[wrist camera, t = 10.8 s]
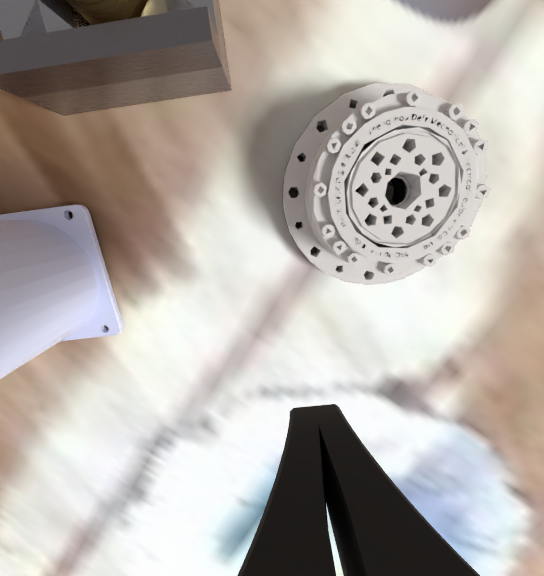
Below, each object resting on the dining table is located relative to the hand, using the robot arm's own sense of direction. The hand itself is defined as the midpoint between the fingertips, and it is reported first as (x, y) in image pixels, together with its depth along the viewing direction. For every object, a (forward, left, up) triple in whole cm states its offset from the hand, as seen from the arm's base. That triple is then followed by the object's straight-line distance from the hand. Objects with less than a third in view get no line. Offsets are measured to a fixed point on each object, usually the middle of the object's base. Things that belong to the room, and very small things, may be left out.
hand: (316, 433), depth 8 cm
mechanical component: (+5, +6, -10) cm, 13 cm away
